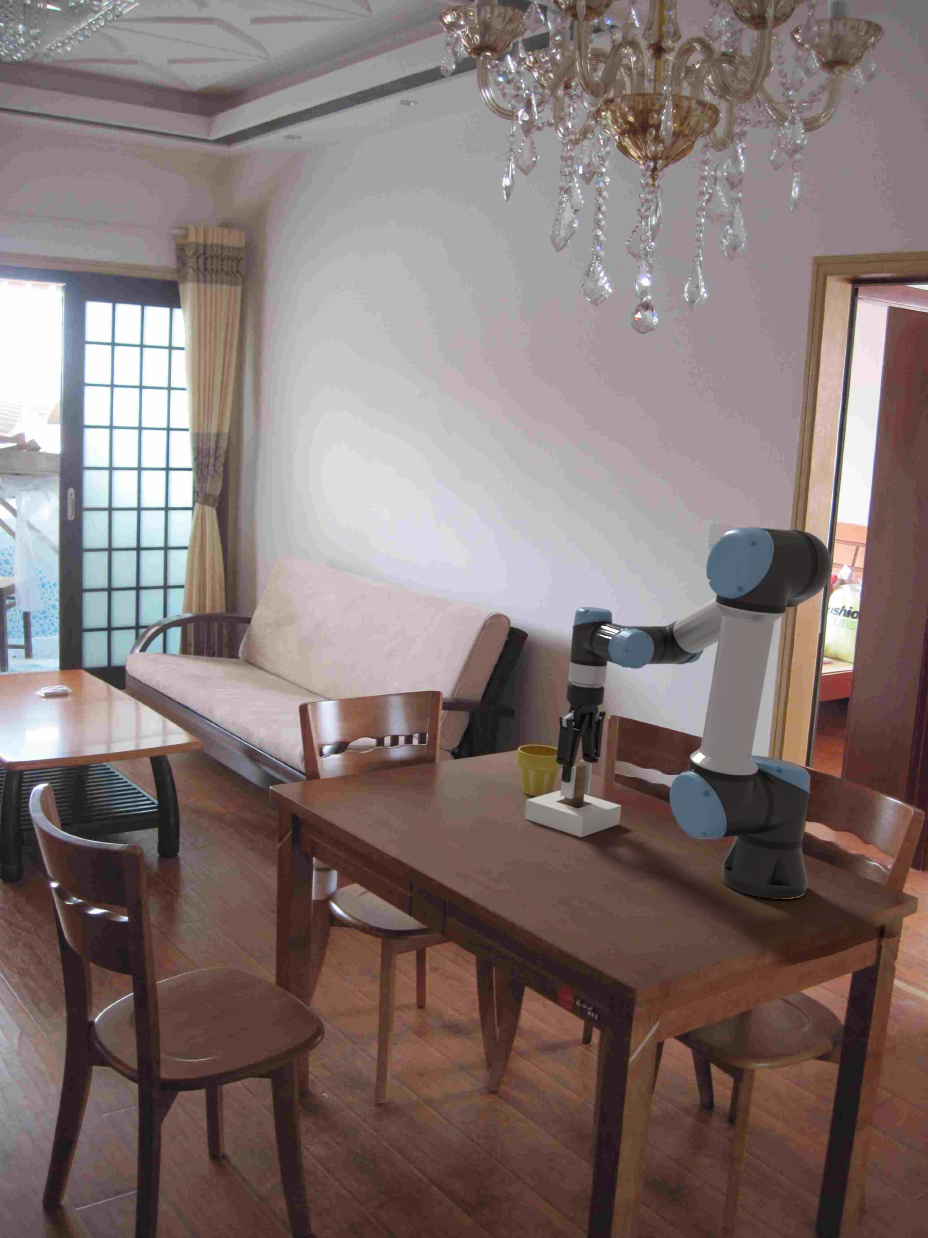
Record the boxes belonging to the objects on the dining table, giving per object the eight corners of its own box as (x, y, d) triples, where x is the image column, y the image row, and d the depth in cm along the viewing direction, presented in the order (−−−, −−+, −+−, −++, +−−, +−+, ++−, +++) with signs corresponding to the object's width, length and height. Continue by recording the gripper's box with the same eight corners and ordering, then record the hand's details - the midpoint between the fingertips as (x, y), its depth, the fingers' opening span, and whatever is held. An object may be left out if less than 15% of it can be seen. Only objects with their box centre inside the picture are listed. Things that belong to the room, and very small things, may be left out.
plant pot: (505, 787, 258) (509, 744, 257) (545, 785, 262) (550, 743, 261) (527, 800, 249) (531, 757, 247) (568, 798, 253) (573, 755, 252)
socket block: (619, 824, 238) (621, 805, 237) (580, 837, 227) (583, 817, 227) (563, 806, 247) (565, 788, 246) (524, 818, 236) (526, 799, 235)
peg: (585, 822, 237) (590, 766, 235) (574, 826, 234) (579, 769, 232) (569, 817, 240) (574, 761, 238) (558, 821, 237) (563, 764, 235)
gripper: (595, 676, 242) (584, 783, 245) (545, 684, 228) (533, 797, 231) (626, 683, 237) (614, 791, 241) (576, 691, 224) (564, 807, 227)
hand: (574, 794), depth 236 cm, fingers open, 5 cm apart
